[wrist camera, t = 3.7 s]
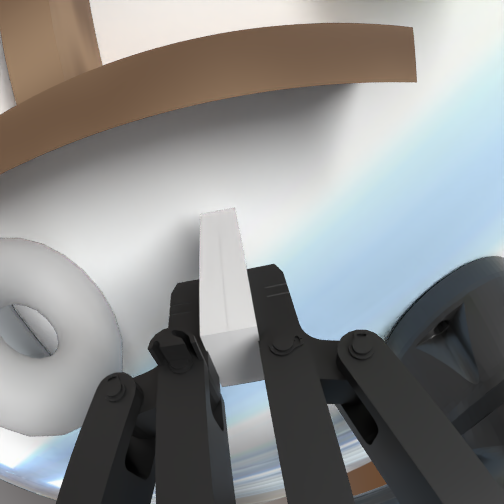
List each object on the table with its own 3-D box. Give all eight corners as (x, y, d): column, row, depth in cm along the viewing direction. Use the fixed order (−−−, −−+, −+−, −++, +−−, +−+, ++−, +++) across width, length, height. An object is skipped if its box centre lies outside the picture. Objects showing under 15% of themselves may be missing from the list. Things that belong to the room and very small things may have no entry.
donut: (147, 288, 17) (125, 463, 9) (120, 320, 18) (95, 475, 10) (0, 193, 13) (-112, 332, 4) (-13, 237, 14) (-98, 371, 6)
